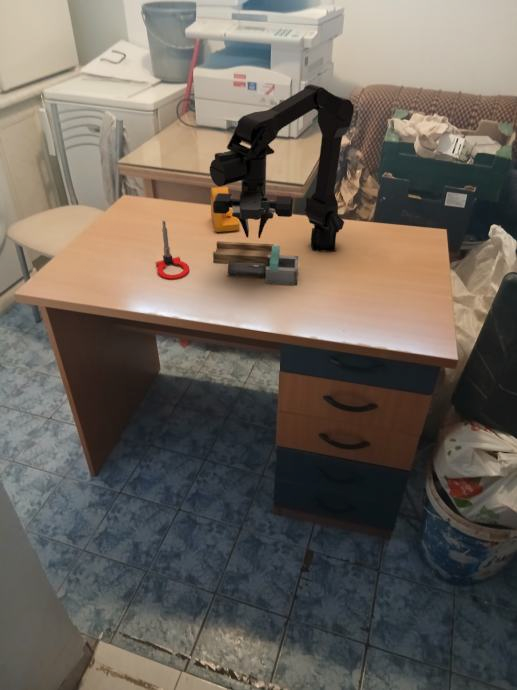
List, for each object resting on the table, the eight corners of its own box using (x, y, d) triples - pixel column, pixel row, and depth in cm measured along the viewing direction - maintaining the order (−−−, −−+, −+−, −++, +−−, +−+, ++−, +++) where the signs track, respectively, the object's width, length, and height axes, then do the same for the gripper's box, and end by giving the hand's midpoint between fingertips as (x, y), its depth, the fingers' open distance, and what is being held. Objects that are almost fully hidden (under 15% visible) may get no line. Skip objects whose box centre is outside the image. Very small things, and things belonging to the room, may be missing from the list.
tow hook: (194, 277, 134) (182, 259, 140) (190, 233, 125) (178, 216, 131) (163, 284, 131) (152, 266, 137) (158, 240, 122) (146, 223, 129)
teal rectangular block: (279, 252, 134) (279, 246, 133) (277, 270, 127) (277, 263, 126) (272, 252, 134) (272, 245, 133) (269, 270, 127) (269, 263, 126)
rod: (282, 274, 135) (282, 262, 133) (281, 281, 132) (281, 269, 130) (229, 271, 136) (229, 259, 134) (228, 278, 133) (227, 266, 131)
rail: (273, 252, 143) (274, 243, 142) (271, 266, 138) (272, 257, 136) (217, 249, 145) (217, 240, 143) (213, 262, 139) (212, 254, 137)
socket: (297, 270, 136) (298, 256, 133) (296, 285, 130) (297, 271, 128) (267, 268, 137) (268, 254, 134) (265, 283, 131) (265, 269, 128)
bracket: (239, 232, 153) (239, 194, 145) (215, 234, 152) (213, 195, 144) (234, 216, 161) (233, 179, 153) (211, 218, 160) (209, 181, 152)
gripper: (207, 187, 111) (211, 251, 121) (292, 191, 110) (289, 255, 120) (215, 169, 120) (218, 229, 130) (294, 172, 119) (291, 233, 129)
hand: (253, 237), depth 127 cm, fingers open, 3 cm apart
